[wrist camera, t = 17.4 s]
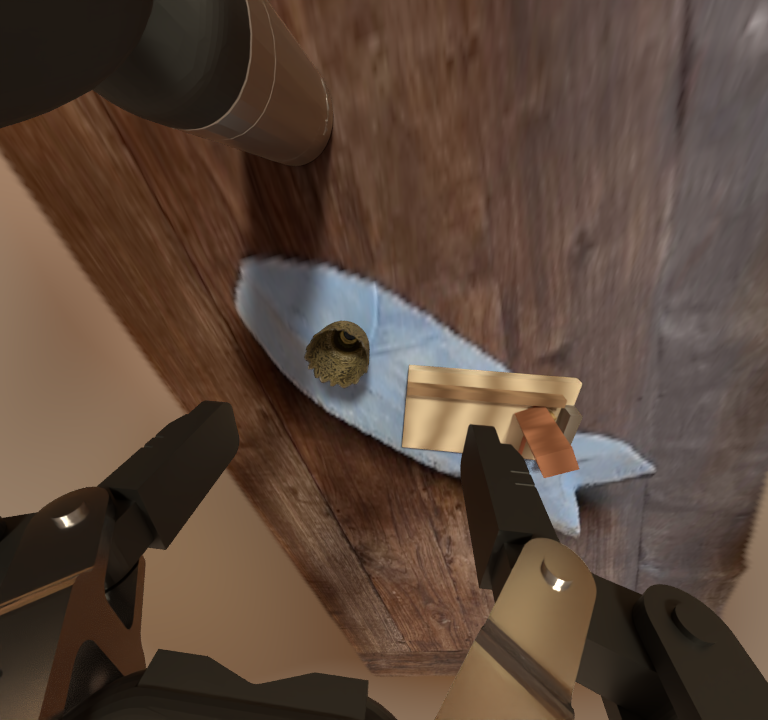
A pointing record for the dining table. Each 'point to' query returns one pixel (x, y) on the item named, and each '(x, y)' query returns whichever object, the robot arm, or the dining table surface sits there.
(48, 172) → the dining table surface
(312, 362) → the olive rounded hollow piece
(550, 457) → the tall copper-brown prism
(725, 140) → the dining table surface
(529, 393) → the birch board
